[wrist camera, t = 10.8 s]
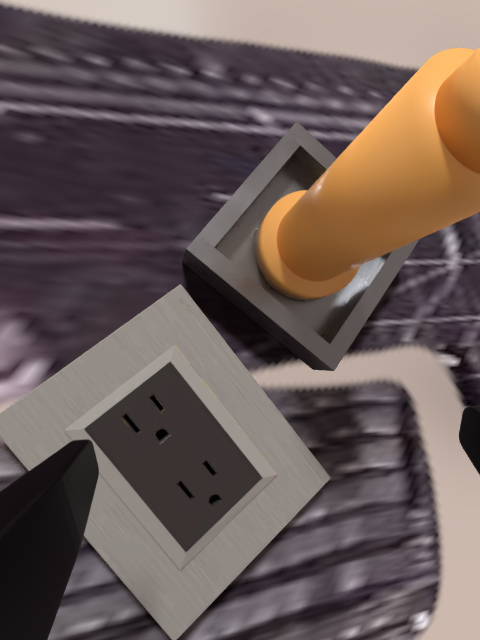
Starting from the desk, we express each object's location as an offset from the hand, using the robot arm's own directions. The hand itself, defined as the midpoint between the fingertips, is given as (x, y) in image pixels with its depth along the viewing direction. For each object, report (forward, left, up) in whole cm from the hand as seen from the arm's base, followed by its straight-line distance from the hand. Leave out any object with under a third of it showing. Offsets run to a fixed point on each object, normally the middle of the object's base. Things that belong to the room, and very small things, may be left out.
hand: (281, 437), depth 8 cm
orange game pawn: (+10, +1, -10) cm, 14 cm away
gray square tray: (+10, +1, -11) cm, 15 cm away
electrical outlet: (-3, 0, -12) cm, 12 cm away
